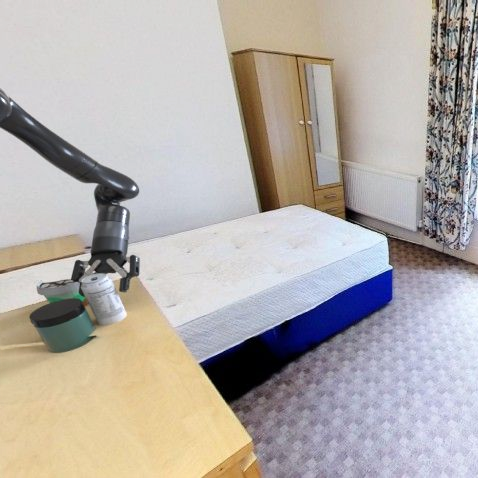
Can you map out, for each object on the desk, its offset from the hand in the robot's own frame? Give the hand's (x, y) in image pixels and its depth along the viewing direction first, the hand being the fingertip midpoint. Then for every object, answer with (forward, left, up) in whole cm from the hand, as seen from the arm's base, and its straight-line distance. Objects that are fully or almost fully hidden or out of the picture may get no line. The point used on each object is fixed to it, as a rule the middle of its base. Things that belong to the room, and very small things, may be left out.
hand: (104, 294), depth 88 cm
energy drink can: (0, -1, -9) cm, 10 cm away
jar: (-6, -7, -9) cm, 13 cm away
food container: (-15, +7, -9) cm, 19 cm away
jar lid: (-6, -7, 0) cm, 9 cm away
